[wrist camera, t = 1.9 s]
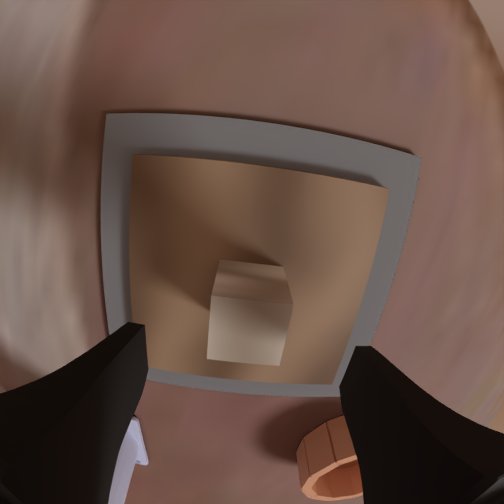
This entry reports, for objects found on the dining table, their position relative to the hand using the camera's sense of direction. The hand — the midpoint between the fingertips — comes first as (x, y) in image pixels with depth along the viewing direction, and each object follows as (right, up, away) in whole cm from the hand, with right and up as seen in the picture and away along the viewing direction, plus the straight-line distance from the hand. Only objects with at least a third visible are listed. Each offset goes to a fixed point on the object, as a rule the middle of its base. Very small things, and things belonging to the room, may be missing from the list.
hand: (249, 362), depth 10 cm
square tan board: (0, +2, +6) cm, 6 cm away
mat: (0, +2, +6) cm, 7 cm away
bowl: (+9, -13, +12) cm, 20 cm away
